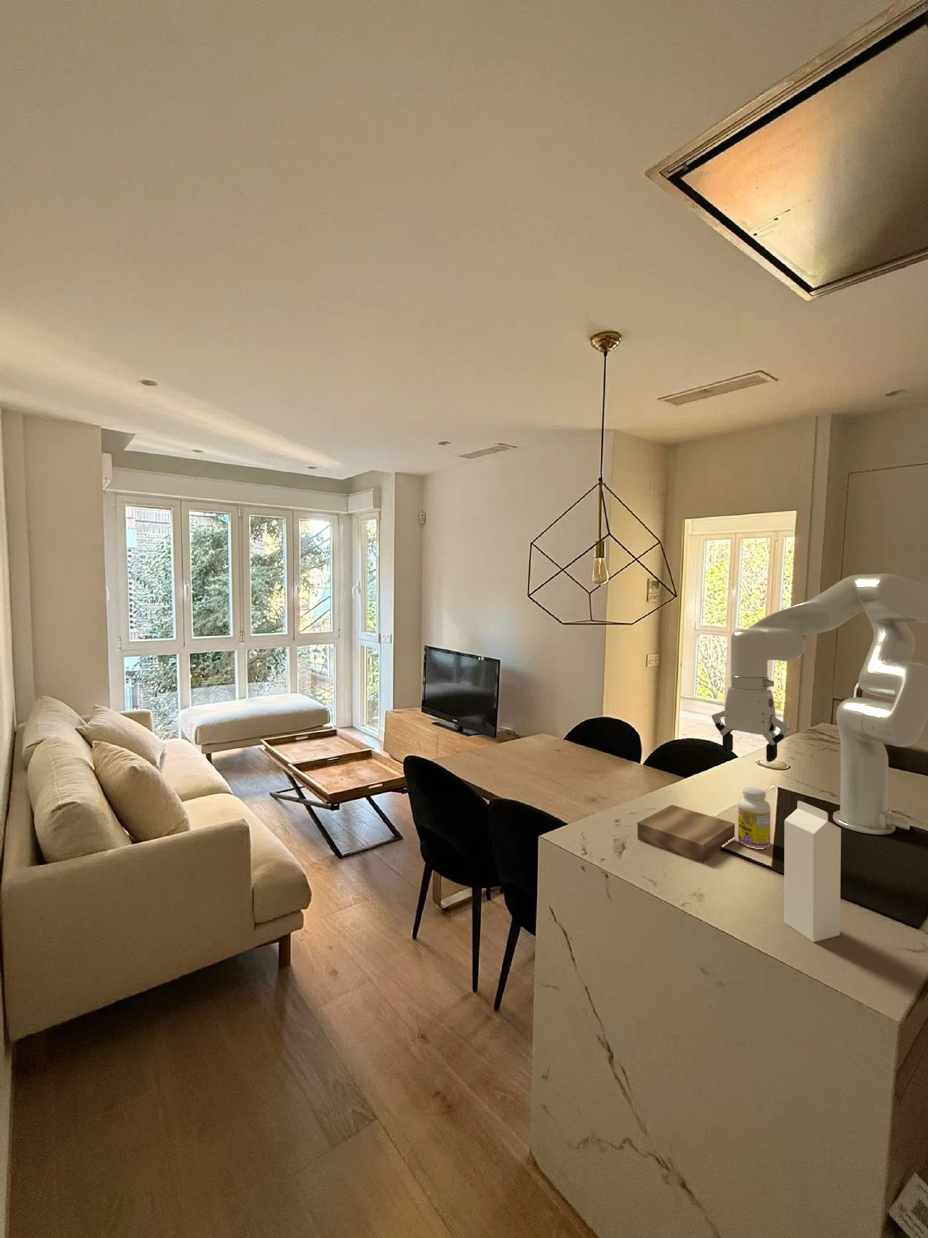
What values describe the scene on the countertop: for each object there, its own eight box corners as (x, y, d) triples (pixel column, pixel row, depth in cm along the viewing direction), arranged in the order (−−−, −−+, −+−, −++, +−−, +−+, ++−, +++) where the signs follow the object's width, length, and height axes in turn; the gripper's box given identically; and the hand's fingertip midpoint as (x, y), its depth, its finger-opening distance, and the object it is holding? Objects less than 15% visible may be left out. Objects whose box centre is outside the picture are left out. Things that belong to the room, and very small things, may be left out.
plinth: (734, 839, 132) (734, 823, 131) (702, 862, 121) (702, 845, 121) (671, 819, 144) (671, 804, 144) (637, 839, 133) (637, 822, 133)
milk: (813, 943, 93) (813, 815, 92) (783, 922, 99) (783, 802, 98) (840, 935, 95) (841, 810, 94) (809, 916, 101) (810, 797, 100)
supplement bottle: (732, 838, 132) (732, 786, 132) (758, 837, 133) (758, 784, 132) (749, 851, 126) (749, 796, 125) (776, 850, 126) (776, 794, 125)
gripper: (796, 685, 124) (796, 761, 125) (720, 677, 137) (720, 745, 138) (782, 690, 119) (782, 768, 120) (704, 681, 132) (705, 751, 133)
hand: (749, 756), depth 129 cm, fingers open, 9 cm apart
